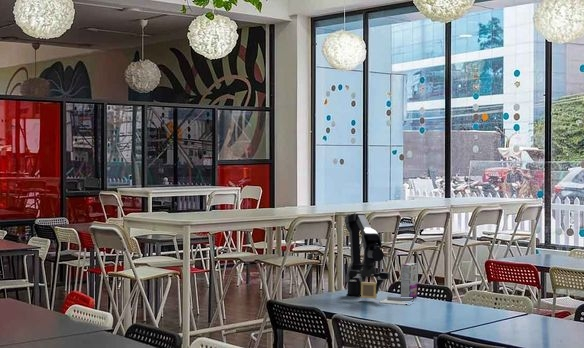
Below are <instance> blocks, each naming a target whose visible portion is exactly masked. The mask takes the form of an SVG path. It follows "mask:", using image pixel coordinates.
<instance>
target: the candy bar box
mask: <svg viewBox="0 0 584 348" xmlns="http://www.w3.org/2000/svg"><path fill="white" fill-rule="evenodd" d="M400 297H415V298H417V297H418V262H417V263H415V262H407V263H402V264H401V265H400Z"/></svg>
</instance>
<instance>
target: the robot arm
mask: <svg viewBox="0 0 584 348" xmlns="http://www.w3.org/2000/svg"><path fill="white" fill-rule="evenodd" d="M344 223H345V228H346V230H347V231H348V233H349V248H350V249H349V250H350V263H349V265H348V267H347V272H346V273H345V277H344V282H345V283H346V284H347V294H346V296H348V295H352V297H361V296H360V295H361V282H366V277H368V278H370V277H372V278H373V277H374V278H377V279H376V283H377V286H376V294H378V293H379V290H380V289H381V285H382V283H383V282H385V280H389V279H391V272H389V271H381V272H377V262H380V261H382V260H383V259H384V256H385V254H384V252H383V250H382V249H381V248H382V243H383V242H382V240H381V237H380V234H379V233H378V232H377V231H376V230H375V229H374V228H372V227H371V225H370V223H369V221H368V219H367V216H366V213H365V212H355V213H350V214H347V215H346V216H345V217H344ZM360 232H361V240H360ZM360 241H361V242H360ZM361 243H362V244H363V262H362V261H361V259H362V258H361Z"/></svg>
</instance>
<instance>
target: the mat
mask: <svg viewBox="0 0 584 348" xmlns="http://www.w3.org/2000/svg"><path fill="white" fill-rule="evenodd" d="M402 301H412V299H411V298H401V296H400V297H399V296H387V297H386V298H385V299H383V300H381V301H379V304H388V305H399V306H406V305H405V304H408V303H405V302H402ZM407 306H411V305H410V304H408V305H407Z"/></svg>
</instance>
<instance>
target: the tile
mask: <svg viewBox="0 0 584 348" xmlns="http://www.w3.org/2000/svg"><path fill="white" fill-rule="evenodd" d="M376 286H377V282H371V281H370V282H368V281H365V282H361V296H360V298H363V299H377V294H378V293H377V294H376Z"/></svg>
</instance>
